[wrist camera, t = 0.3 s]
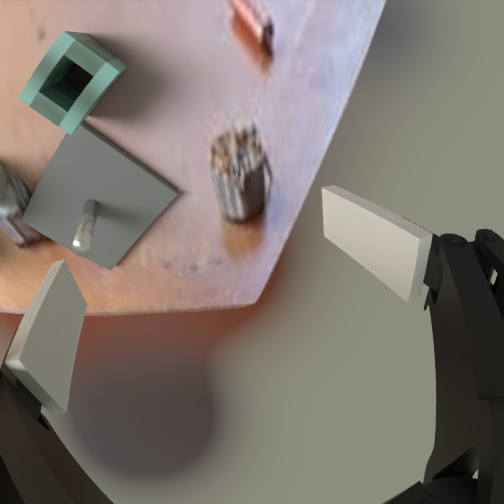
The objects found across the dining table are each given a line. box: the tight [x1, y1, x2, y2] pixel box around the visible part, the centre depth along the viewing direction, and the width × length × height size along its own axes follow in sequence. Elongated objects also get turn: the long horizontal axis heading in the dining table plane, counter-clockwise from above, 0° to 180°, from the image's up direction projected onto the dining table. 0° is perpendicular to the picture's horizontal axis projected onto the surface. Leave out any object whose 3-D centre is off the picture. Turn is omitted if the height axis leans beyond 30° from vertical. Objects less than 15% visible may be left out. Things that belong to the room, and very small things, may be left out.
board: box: [21, 122, 178, 270], centre depth 35 cm, size 18×18×2 cm
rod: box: [71, 200, 99, 256], centre depth 32 cm, size 2×2×9 cm
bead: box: [19, 31, 128, 135], centre depth 21 cm, size 8×8×8 cm
